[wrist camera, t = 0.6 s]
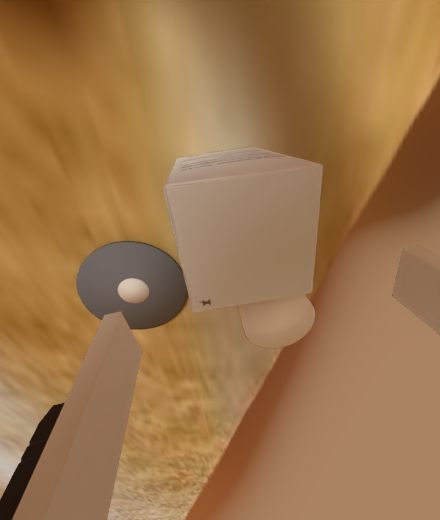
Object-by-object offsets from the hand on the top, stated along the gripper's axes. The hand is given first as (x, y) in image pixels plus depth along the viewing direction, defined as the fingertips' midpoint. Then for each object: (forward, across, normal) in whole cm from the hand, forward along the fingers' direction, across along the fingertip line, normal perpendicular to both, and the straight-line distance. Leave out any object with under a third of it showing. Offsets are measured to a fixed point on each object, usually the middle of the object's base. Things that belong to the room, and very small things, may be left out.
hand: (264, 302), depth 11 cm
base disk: (+19, -14, -10) cm, 25 cm away
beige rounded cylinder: (+19, +3, -12) cm, 23 cm away
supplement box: (+19, 0, +1) cm, 19 cm away
